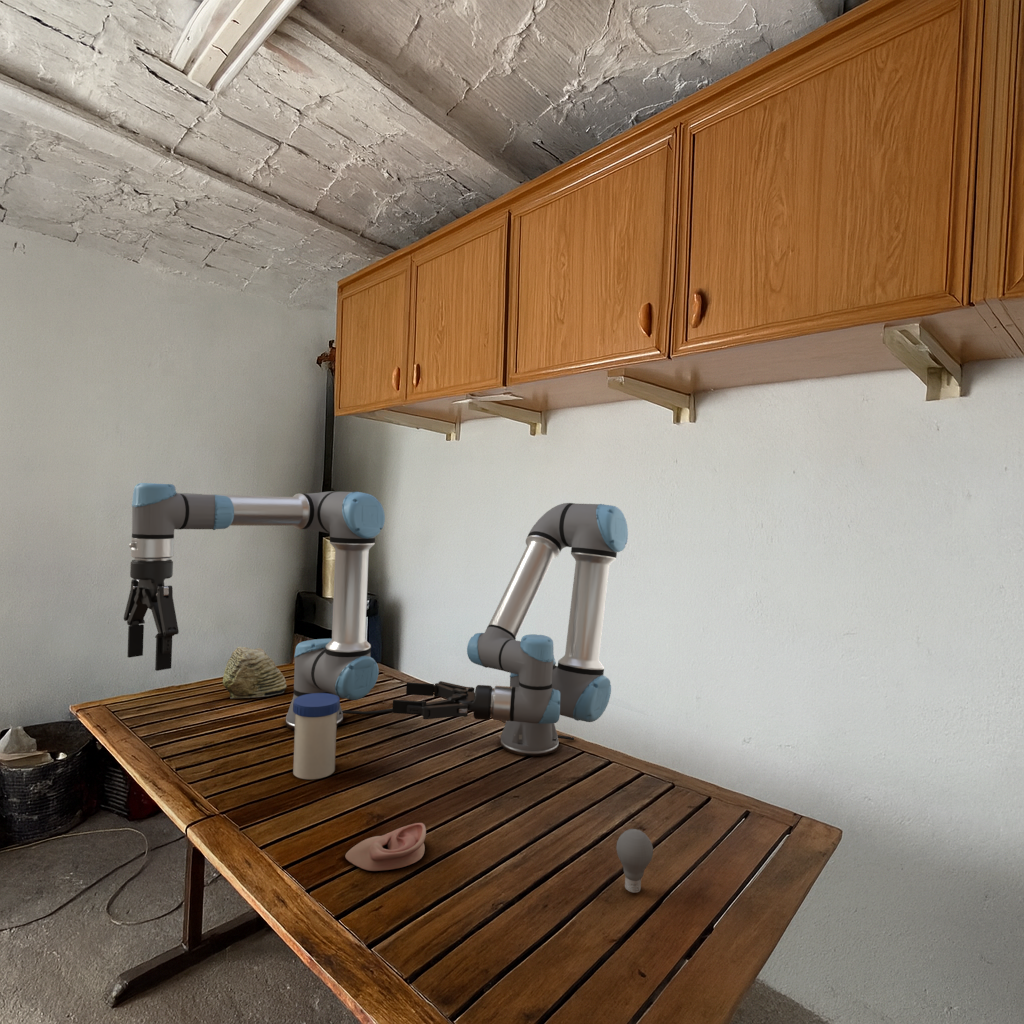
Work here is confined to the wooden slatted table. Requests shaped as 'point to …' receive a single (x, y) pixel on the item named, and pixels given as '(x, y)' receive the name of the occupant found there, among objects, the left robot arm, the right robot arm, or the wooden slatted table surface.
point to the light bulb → (634, 857)
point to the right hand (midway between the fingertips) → (399, 696)
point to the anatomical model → (390, 849)
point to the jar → (314, 746)
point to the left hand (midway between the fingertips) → (148, 662)
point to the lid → (316, 704)
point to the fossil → (252, 674)
